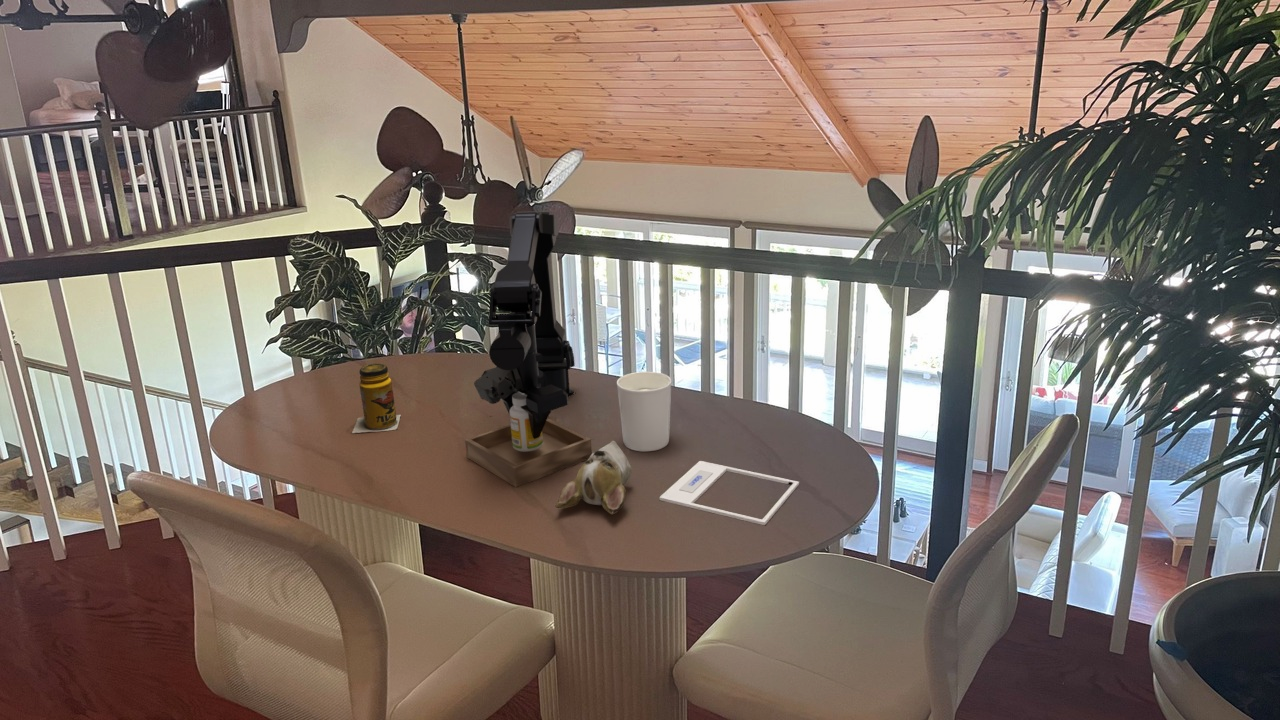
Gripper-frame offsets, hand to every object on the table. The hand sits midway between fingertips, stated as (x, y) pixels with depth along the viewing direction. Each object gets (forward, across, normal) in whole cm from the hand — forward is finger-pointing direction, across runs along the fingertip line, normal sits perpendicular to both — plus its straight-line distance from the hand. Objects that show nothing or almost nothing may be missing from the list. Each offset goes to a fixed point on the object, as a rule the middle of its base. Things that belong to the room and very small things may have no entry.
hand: (527, 433), depth 158 cm
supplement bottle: (+3, 0, 0) cm, 3 cm away
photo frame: (+5, +34, +16) cm, 38 cm away
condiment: (+5, -34, -13) cm, 37 cm away
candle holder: (+5, +10, +19) cm, 22 cm away
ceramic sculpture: (+5, +21, -1) cm, 22 cm away
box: (+5, 0, 0) cm, 5 cm away
